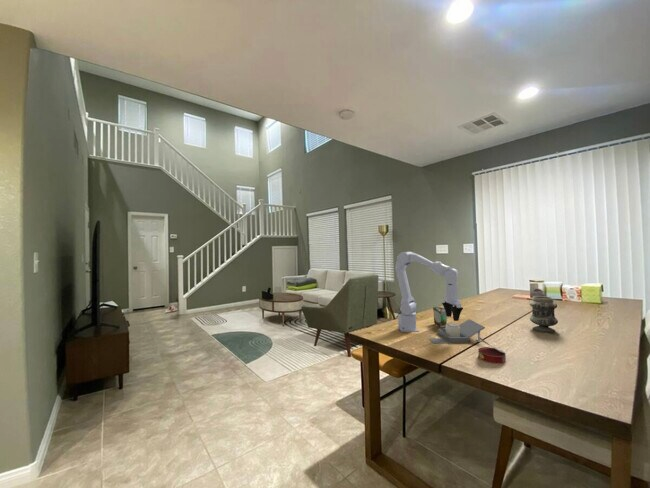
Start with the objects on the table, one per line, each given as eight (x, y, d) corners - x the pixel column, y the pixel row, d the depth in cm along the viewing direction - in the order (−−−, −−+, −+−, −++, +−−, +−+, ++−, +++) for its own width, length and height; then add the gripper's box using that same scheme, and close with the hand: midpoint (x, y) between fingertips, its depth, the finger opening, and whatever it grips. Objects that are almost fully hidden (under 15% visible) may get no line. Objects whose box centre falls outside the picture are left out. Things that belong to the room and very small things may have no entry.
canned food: (481, 364, 121) (480, 341, 125) (508, 368, 115) (506, 343, 119) (474, 360, 114) (474, 335, 118) (503, 363, 107) (501, 337, 112)
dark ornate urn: (547, 326, 155) (547, 294, 155) (564, 333, 143) (563, 299, 143) (524, 326, 157) (524, 295, 156) (539, 333, 145) (538, 299, 144)
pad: (434, 344, 134) (434, 343, 134) (428, 339, 141) (428, 338, 141) (449, 343, 134) (448, 343, 134) (442, 338, 141) (442, 338, 141)
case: (450, 343, 134) (450, 328, 134) (438, 333, 148) (437, 319, 148) (485, 342, 134) (485, 327, 134) (469, 332, 149) (469, 319, 149)
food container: (452, 329, 155) (452, 311, 155) (441, 329, 155) (441, 311, 155) (443, 322, 167) (443, 306, 167) (433, 323, 168) (432, 306, 167)
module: (450, 339, 139) (449, 326, 139) (445, 336, 144) (445, 323, 144) (460, 339, 139) (459, 326, 139) (455, 335, 144) (455, 323, 144)
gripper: (467, 294, 134) (467, 322, 134) (452, 289, 149) (453, 314, 149) (452, 294, 134) (453, 322, 134) (439, 289, 149) (440, 315, 149)
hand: (452, 318), depth 141 cm, fingers open, 7 cm apart
